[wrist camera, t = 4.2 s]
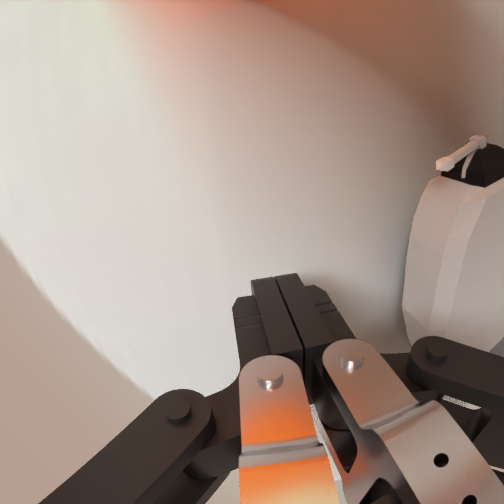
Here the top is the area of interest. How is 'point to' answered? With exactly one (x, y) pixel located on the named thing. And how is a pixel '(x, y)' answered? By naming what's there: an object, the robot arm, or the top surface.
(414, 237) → the robot toy
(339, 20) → the top surface
